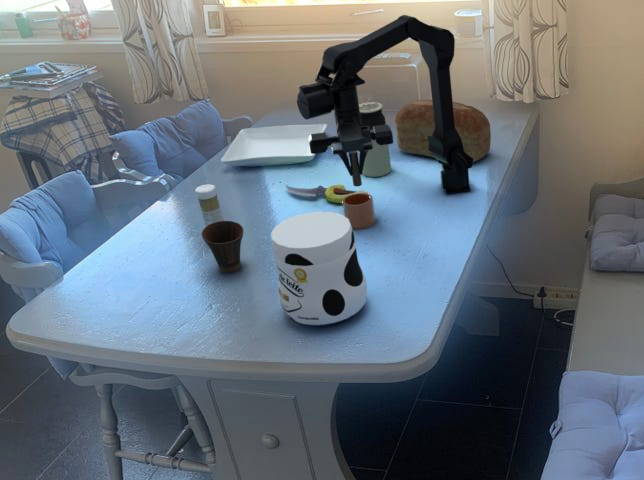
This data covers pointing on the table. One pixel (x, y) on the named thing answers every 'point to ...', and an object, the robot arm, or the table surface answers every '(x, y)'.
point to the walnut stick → (355, 168)
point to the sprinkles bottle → (209, 204)
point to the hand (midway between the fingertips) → (356, 174)
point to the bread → (419, 123)
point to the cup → (225, 243)
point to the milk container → (318, 269)
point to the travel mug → (379, 155)
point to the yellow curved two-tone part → (325, 192)
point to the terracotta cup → (359, 210)
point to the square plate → (272, 145)
